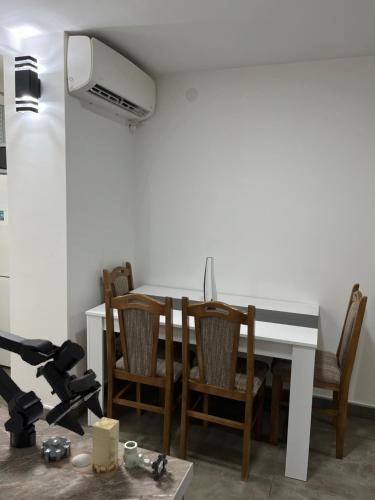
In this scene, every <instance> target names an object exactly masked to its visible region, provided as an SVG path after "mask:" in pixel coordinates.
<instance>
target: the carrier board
mask: <svg viewBox="0 0 375 500" xmlns="http://www.w3.org/2000/svg"><path fill="white" fill-rule="evenodd" d="M32 461H35V462H40V463H43V464H47V465H50V466H54V467H55V466H56V467H60V468H64V469H67V470H71V471H76V472H79V473H82V474H88V475H91V476H92V475H93V476H96V477H100V478H102V479H103V478H104V479H108V480H111V478H112V477H113V476H114V475H115V473H116V472H117V470H118V469H119V468H120V466H122V464H124V461H123V458H119V457H118V464H117V469H116V470H113V471H111V472H110V474H106V473H100V474H97V472H96V471H95V470H92V451H87V450H84V449H80V448H74V447H71V451H70V452H69V457H68V458H64V459H62V460H60V462H57V463H56V461H55V462H49V463H47V462H45V460H44V459H43V458H42V459H41V458H40V453H38V454H37V455H36V456H35V457H34V458H33V459H32Z"/></svg>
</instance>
